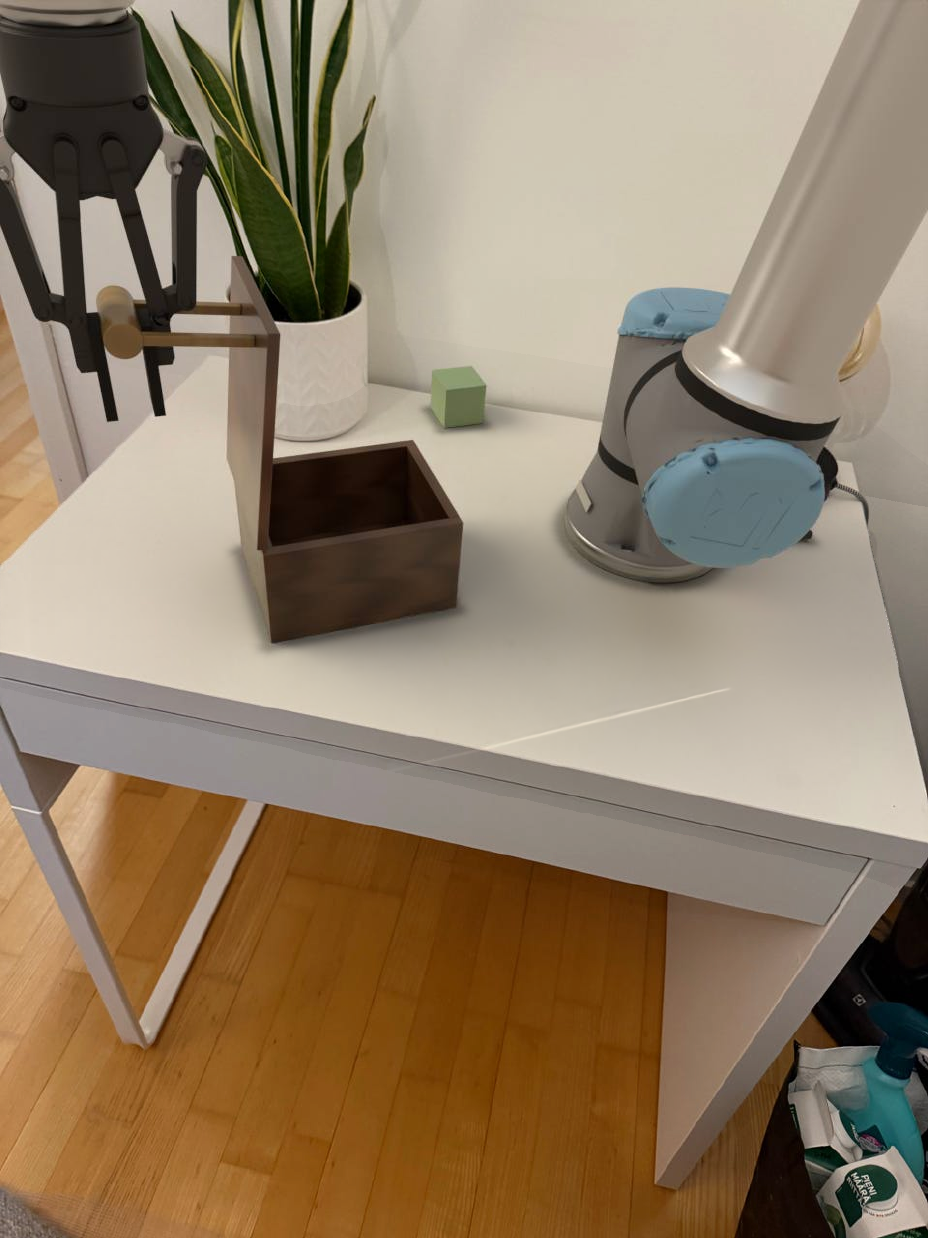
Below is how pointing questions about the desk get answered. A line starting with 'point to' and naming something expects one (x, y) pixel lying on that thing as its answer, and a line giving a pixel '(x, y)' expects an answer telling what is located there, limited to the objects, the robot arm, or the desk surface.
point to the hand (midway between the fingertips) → (134, 408)
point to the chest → (353, 541)
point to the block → (458, 396)
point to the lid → (247, 383)
